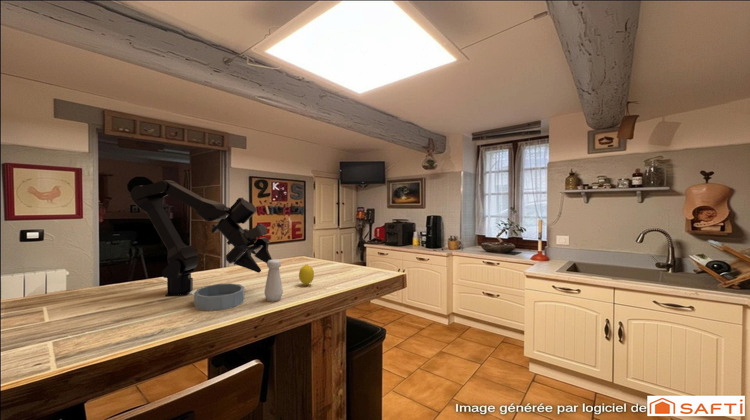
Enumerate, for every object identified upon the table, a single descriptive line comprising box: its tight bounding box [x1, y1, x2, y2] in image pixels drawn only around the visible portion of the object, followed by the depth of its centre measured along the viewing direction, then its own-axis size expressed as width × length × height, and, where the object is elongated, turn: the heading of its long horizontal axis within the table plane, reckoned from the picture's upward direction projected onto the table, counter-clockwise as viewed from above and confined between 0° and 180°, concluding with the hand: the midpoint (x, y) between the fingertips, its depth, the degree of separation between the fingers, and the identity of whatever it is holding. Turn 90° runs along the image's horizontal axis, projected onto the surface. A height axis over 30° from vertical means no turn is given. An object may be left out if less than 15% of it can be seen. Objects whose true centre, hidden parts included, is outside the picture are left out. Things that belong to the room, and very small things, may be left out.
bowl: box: [193, 282, 245, 312], centre depth 99 cm, size 14×14×4 cm
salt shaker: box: [264, 258, 284, 302], centre depth 103 cm, size 6×6×13 cm
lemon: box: [298, 263, 315, 286], centre depth 119 cm, size 6×6×8 cm
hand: (266, 268), depth 103 cm, fingers open, 9 cm apart
